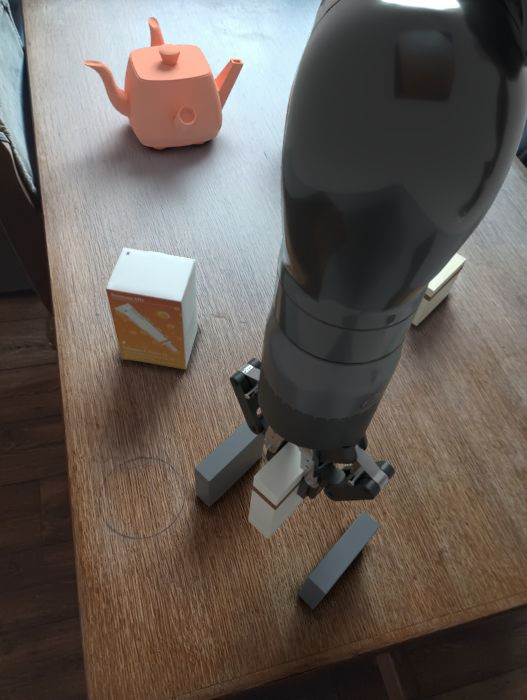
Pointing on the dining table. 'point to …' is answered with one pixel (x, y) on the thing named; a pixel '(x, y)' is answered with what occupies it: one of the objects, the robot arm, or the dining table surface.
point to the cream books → (439, 287)
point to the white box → (276, 490)
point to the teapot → (170, 92)
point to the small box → (154, 307)
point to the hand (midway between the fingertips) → (293, 475)
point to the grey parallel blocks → (240, 457)
